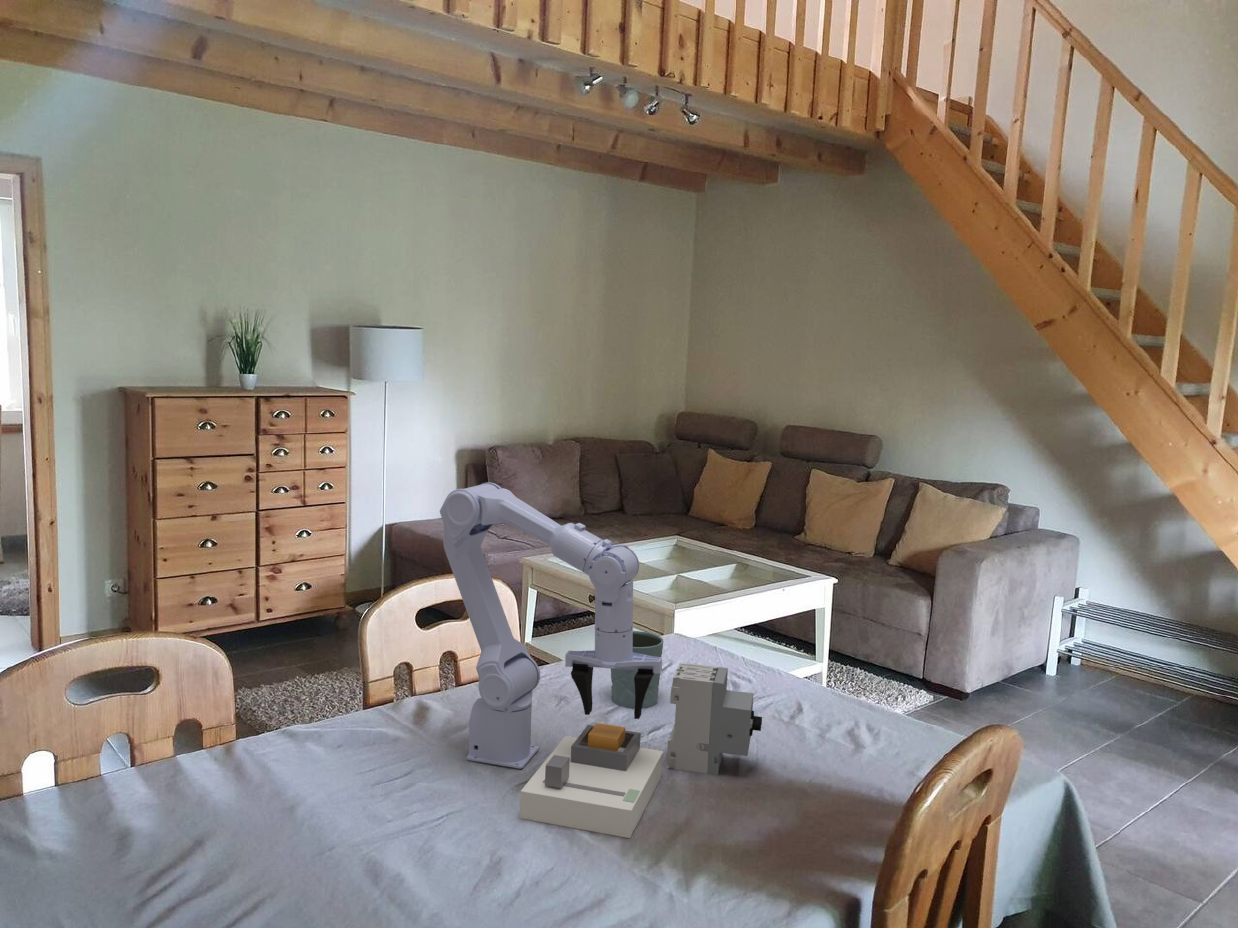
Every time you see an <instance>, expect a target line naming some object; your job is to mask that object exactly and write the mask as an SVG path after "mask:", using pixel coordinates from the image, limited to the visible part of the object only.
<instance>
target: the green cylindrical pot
mask: <svg viewBox="0 0 1238 928" xmlns="http://www.w3.org/2000/svg"><path fill="white" fill-rule="evenodd" d="M663 647H664V639H663V637H661V636H660V635H658V634H655V633H652V632H649V631H641V630H639V631H638V630H633V649H632V652H633V653H638V654H643V655H648V656H654V657H662V655H663ZM637 672H638V670H625V669H610V681H611V699H612V702H613V703H614V704H615V705H617V706H619V707H622V708H627V709H635V683H634V677H635V675H636V673H637ZM660 679H661V673H660V674H657V673H654V675H653V677H652V679H651V681H650V684H649V686H648V689H647V691H646V694H645V698H644V701H643V705H642V709H647V708H652V707H653V706H655V705H656V704H657V702H658V700H659V699H658V698H659V687H660Z"/></svg>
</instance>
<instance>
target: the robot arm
mask: <svg viewBox="0 0 1238 928" xmlns="http://www.w3.org/2000/svg"><path fill="white" fill-rule="evenodd" d="M442 503H443V504H442V506H441V507H440V509H439V514H440V517H441V519H442V522H443V541H442V542H443V549H444V553H445V555H446V558H447V560H448V563H449V566H450V568H451V571H452V574H453V577H454V579H455V582H456V585H457V589H458V591H459V593H460V596H461V599H462V602H463V605H464V607H465V609H466V613H467V616H468V618H469V620H470V624H471V626H472V629H473V631H474V635H475V637H476V640H477V643H478V645H479V648H480V655H479V656H478V661H477V663H476V666H475V670H476V672H477V675H478V692H479V695H480V697H479V698H477V699H476V700H475V701H474V703H473V706H472V708H471V710H470V714H469V715H470V716H469V727H468V728H469V729H468V730H469V731H468V754H467V756H466V760H467V761H473V762H479V763H484V764H485V763H486V764H491V765H494V766H496V765H497V766H502V767H507V768H514V769H523V768H524V767H526V765H527V764H528V763H529V761H530V760H531V759H532V758H533V756H535V755H536V753H537V752H538V751H539V749H540V748H539V746H538V745H532V744H531V741H532V738H531V736H532V710H533V709H532V708H533V699H532V698H533V690H535V689H536V688H537V687H538V685H539V684H540V681H541V671H540V668H539V666H538V663H537V662H536V661H535V659H534V658H532V656H531V655H530V654H529V652H528V650H527V647H526V645H525V644H524V643H522V642H521V641H519V640H518V639H516V638H515V637H514V636H513V633H512V629H511V627H510V625H509V621H508V619H507V616H506V614H505V610H504V608H503V605H502V602H501V600H500V597H499V594H498V591H497V589H496V587H495V583H494V581H493V578H492V577H493V576H491V572H490V569H489V567H488V564H487V561H486V558H485V556H484V552H483V551H482V545H483V542H484V540H485V538H486V536H487V534H488V532H489V530H490V529H491V528H492V527H493V526H494V525H498V524H500V525H501V524H508V525H510V526H512V527H514V528H516V529H517V530H520V531H521V532H523V533H526V534H528V535H530V536H532V537H533V538H535V539H538V540H540V541H542V542H544V543H546V544H548V545H549V546H550V550H551V553H552V555H553V556H554V557H556V558H558V559H559V560H561V561H562V562H564V563H565V564H568V565H570V566H571V567H573V568H575V569H577V570H578V571H580V572H581V573H584V574H585V575H587V576H588V578H589V580H590V582H591V584H592V585H593V586H594V589H595V593H594V594H595V597H594V600H595V601H594V650H568V651H567V652H566V653H565V665H564V666H565V667H569V668H572V669H571V671H570V676H571V679H572V681H573V682H574V684H575V686H576V688H577V690H578V694H579V695H580V698H581V702H582V706H583V711H584V715H587V716H590V714H591V712H592V711H593V674H594V673H593V672H594V668H598V669H599V668H600V669H601V668H602V669H610V670H611V669H625V670H638V672H637V673H636V675H635V677H634V683H635V709H634V710H633V711H634V714H633V715H634V718H633V719H634V720H640V717H642V711H643V708H642V705H643V701H644V698H645V694H646V691H647V689H648V686H649V684H650V681H651V679H652V677H653V675H654V673H657V674H660V675H661V672H662V669H663V657H662V656H661V657H654V656H648V655H643V654H638V653H633V652H632V649H633V631H634V581H633V579H635V578H636V576H637V575H638V573H639V570H640V560H639V557H638V555H637V554H636V552H634V550H632V549H631V548H629V546H628V545H626V544H615V545H612V540H609V539H608V538H606V539H602V538H600V537H599V536H597V535H596V534H593V533H591V532H589V531H588V530H586V529H587V527H586V525H585V524H583V523H581V522H577V523H573V522H567V523H566V524H563V525H561V524H560V523H558V522H556V521H555V520H553V519H552V518H550V517H548V516H547V515H545V514H544V513H542V512H540V511H539V510H537V509H536V508H534V507H532V506H531V505H529V504H528V503H526V502H524V500H521V499H519V498H518V497H517V496H515V495H514V493H512V491H511V490H509V489H506V488H503V487H501V486H500V485H499V484H496V483H494V482H483V483H481V484H478V485H474V486H470V487H466V488H456V489H454V490H452V491H451V492H449V494H447V496H446V498H445V500H444V501H443V502H442Z"/></svg>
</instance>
